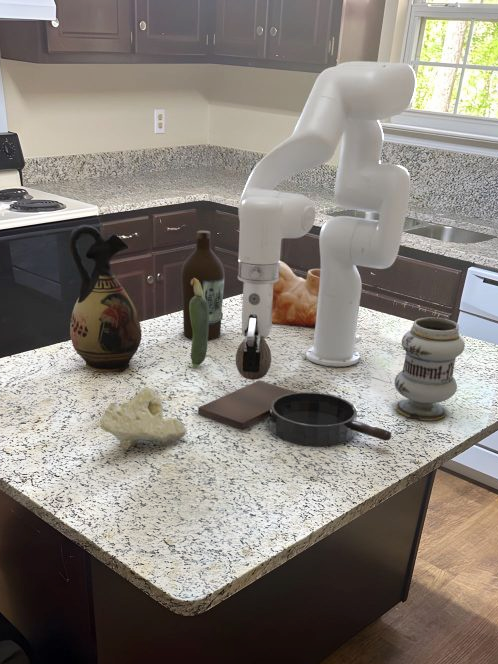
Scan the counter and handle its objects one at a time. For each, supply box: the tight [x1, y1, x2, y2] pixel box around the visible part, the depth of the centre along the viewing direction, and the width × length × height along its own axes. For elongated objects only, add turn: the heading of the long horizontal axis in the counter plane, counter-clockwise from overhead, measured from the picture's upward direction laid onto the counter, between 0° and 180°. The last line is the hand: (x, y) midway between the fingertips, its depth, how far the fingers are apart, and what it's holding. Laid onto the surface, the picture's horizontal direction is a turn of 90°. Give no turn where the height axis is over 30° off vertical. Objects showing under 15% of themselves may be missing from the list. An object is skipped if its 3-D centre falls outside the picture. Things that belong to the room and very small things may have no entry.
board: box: [197, 380, 297, 431], centre depth 144 cm, size 20×11×2 cm, turn 141°
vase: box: [235, 332, 272, 381], centre depth 139 cm, size 7×7×9 cm
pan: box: [268, 391, 358, 447], centre depth 136 cm, size 16×16×4 cm
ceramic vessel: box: [272, 260, 321, 329], centre depth 194 cm, size 14×26×15 cm, turn 75°
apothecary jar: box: [394, 316, 466, 421], centre depth 141 cm, size 12×12×18 cm
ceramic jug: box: [67, 224, 143, 374], centre depth 154 cm, size 17×15×30 cm
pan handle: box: [349, 420, 392, 442], centre depth 129 cm, size 2×8×2 cm, turn 51°
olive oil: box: [180, 230, 226, 341], centre depth 178 cm, size 11×11×25 cm
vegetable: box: [189, 278, 209, 368], centre depth 158 cm, size 4×4×20 cm
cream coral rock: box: [99, 386, 187, 451], centre depth 128 cm, size 15×7×15 cm
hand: (253, 364), depth 140 cm, fingers closed on vase, 7 cm apart
